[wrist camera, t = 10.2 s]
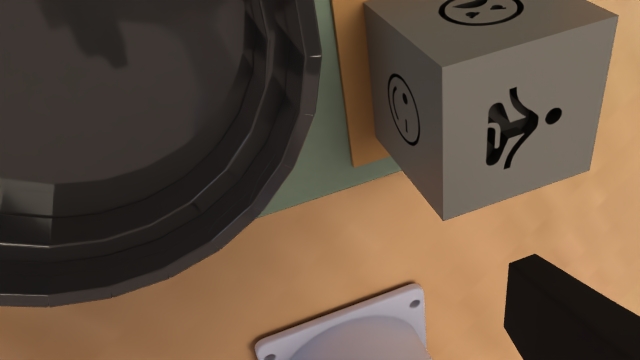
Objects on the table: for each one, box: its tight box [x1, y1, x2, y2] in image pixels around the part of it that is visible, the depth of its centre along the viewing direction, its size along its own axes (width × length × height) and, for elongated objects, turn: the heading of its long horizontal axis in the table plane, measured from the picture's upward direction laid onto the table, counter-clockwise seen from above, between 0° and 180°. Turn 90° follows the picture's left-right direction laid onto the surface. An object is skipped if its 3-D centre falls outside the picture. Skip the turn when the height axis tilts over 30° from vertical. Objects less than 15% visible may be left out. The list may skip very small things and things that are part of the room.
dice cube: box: [363, 0, 619, 221], centre depth 18 cm, size 5×5×5 cm
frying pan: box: [0, 0, 322, 307], centre depth 15 cm, size 13×13×3 cm
